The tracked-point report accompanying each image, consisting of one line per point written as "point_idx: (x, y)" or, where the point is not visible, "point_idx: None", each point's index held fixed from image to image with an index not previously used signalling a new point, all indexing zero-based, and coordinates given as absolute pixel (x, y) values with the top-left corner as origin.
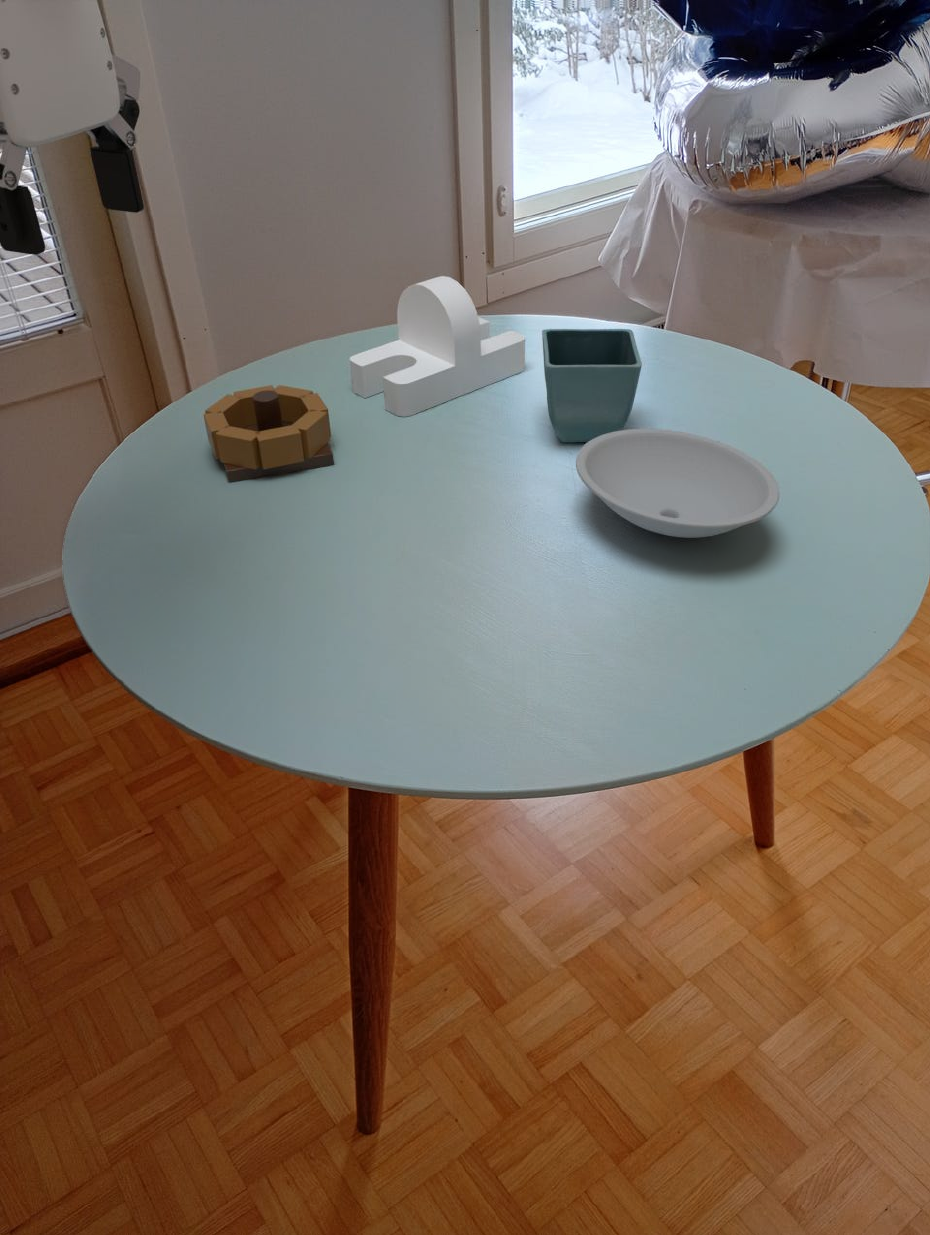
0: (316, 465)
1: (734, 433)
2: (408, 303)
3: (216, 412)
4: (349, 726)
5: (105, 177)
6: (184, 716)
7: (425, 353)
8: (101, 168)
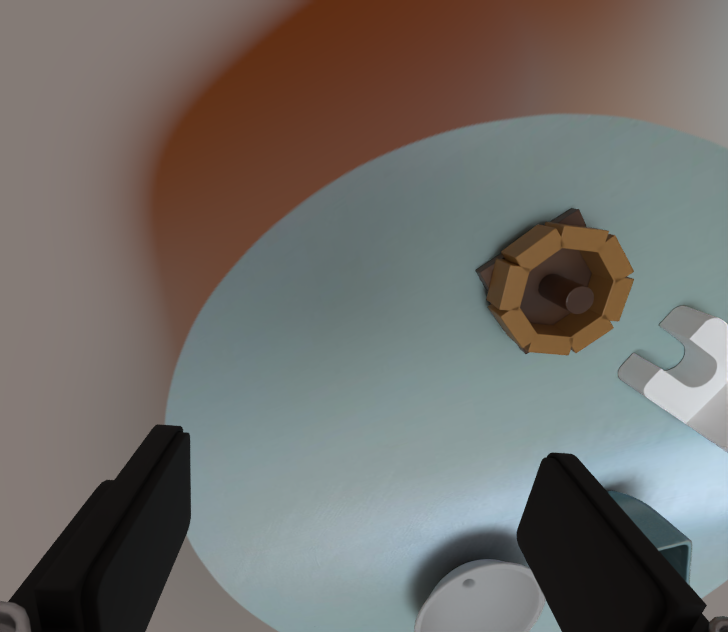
0: None
1: None
2: None
3: (560, 242)
4: (208, 478)
5: (583, 549)
6: (172, 388)
7: (719, 388)
8: (603, 569)
